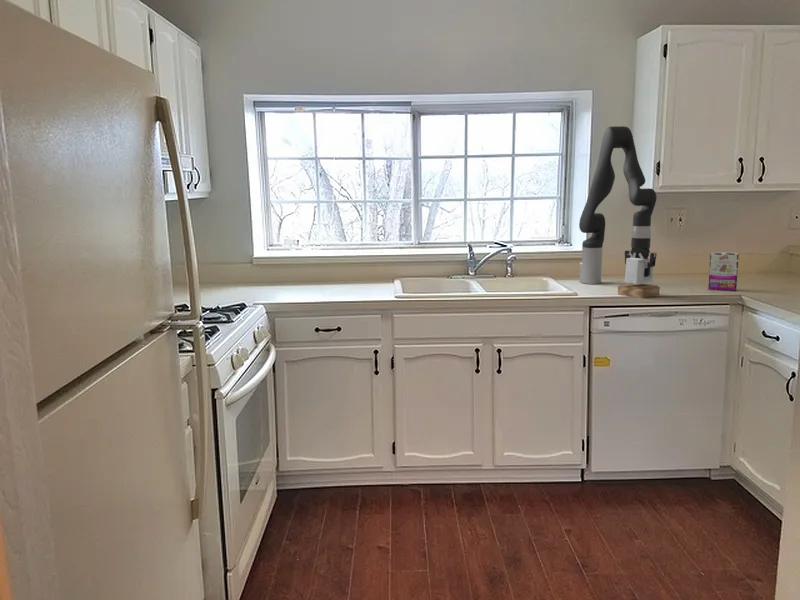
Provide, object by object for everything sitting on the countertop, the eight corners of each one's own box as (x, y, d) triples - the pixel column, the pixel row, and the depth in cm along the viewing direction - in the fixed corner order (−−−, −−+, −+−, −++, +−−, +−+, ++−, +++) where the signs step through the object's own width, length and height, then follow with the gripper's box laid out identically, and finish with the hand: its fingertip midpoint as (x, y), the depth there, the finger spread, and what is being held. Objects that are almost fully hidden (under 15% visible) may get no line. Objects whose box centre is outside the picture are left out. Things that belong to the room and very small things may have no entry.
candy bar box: (736, 289, 278) (739, 252, 275) (736, 291, 274) (739, 253, 271) (708, 288, 283) (710, 251, 280) (707, 289, 279) (710, 252, 276)
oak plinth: (617, 294, 271) (618, 285, 270) (634, 291, 278) (634, 282, 277) (642, 298, 261) (642, 288, 261) (659, 294, 268) (659, 285, 268)
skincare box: (637, 284, 263) (638, 259, 262) (624, 282, 269) (625, 258, 267) (653, 282, 269) (654, 257, 267) (640, 280, 274) (641, 256, 272)
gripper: (620, 236, 269) (619, 275, 272) (651, 238, 257) (649, 278, 260) (631, 235, 273) (629, 273, 276) (661, 237, 262) (659, 276, 265)
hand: (639, 275), depth 268 cm, fingers closed on skincare box, 6 cm apart
